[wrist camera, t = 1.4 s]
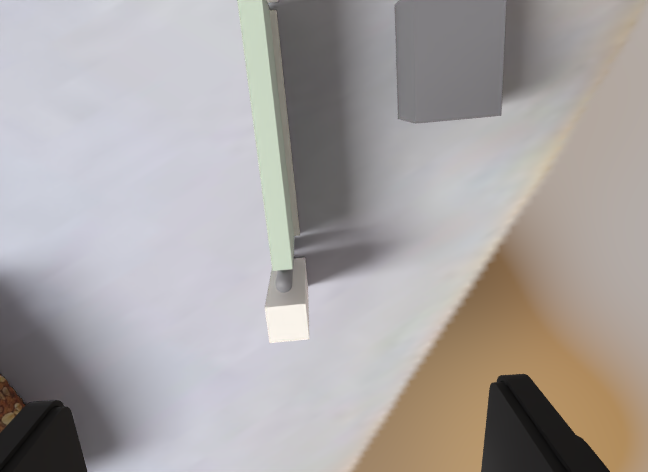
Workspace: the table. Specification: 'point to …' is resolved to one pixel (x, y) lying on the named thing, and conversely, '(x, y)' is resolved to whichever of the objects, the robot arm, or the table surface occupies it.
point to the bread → (8, 403)
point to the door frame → (292, 307)
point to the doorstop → (449, 59)
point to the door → (268, 136)
